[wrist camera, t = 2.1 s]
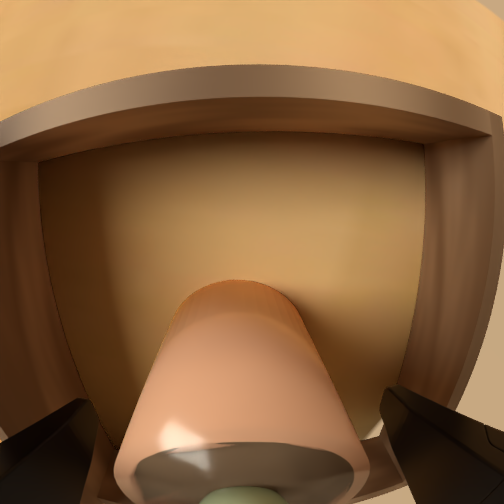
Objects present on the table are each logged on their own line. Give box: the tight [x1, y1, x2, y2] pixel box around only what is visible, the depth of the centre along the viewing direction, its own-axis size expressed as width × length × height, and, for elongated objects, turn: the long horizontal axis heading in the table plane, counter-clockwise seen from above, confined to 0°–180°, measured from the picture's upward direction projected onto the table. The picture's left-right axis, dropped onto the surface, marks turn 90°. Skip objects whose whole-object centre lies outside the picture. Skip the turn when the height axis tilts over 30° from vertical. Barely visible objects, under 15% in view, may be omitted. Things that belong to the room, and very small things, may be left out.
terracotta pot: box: [114, 280, 370, 504], centre depth 7 cm, size 6×6×9 cm
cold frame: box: [0, 65, 504, 504], centre depth 8 cm, size 18×18×6 cm
